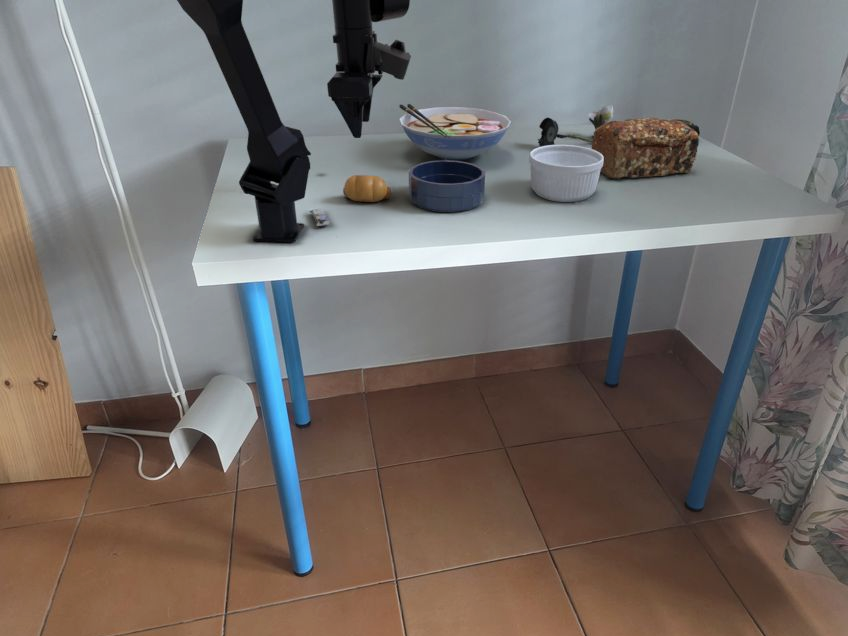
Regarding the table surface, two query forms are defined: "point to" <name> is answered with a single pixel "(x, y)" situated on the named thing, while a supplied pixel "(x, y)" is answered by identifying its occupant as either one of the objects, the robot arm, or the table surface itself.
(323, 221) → the granola bar
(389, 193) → the croissant
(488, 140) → the ramen bowl
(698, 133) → the tape measure
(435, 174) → the bowl
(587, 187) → the ramekin
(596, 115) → the artificial flower
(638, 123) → the bread
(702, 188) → the table surface
